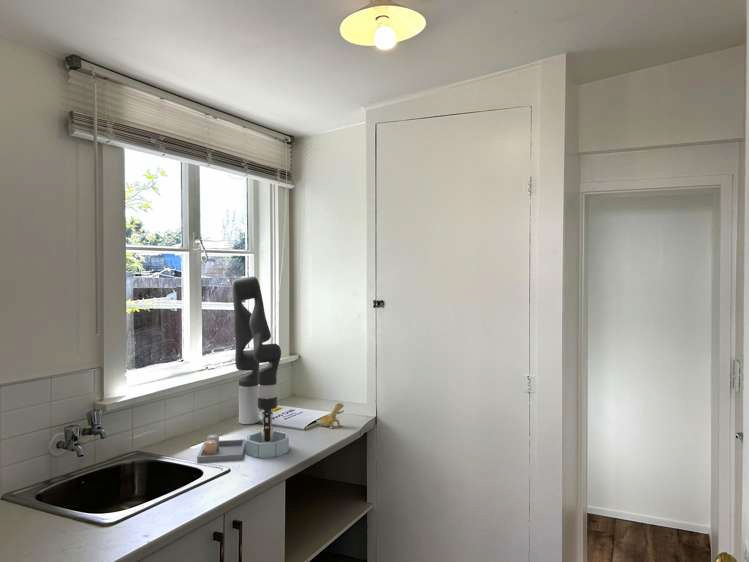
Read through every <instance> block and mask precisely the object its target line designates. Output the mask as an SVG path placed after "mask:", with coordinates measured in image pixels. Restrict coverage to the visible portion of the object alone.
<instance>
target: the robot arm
mask: <svg viewBox="0 0 749 562" xmlns="http://www.w3.org/2000/svg"><path fill="white" fill-rule="evenodd" d="M231 294H232V301H233V309H234V310H233V313H234V315H233V316H234V319H233V321H234V323H233V324H234V336H235V337H234V338H235V357H234V358H235V359H234V362H235V368H236V369H237V370H238V371H240V372H241V371H251V372H250V373H249V374H247V375H246V376H243V377H240V378H239V379H238V424H242V425H252V424H256V423H257V424H258V421H259V422H260V410H263V411H262V413H261V418H262V425H263V426H262V427H264V429H263V431H264V441H265V442H267V441H270V431H271V429H270V426H272V425H273V416H274V415H273V414H274V413H273V412H274V411H272V410H273V409H276V408H277V407H278V386H277V379H278V377H277V373H278V369H279V364H280V360H281V358H282V349H281V347H280V345H279V344H277V343H266V342H268V341H269V340H270V339H271V338H272V333H271V331H270V328H269V324H268V320H267V318H266V314H265V313H266V312H265V307H264V301H263V300H264V299H263V296H262V290H261V285H260V282H259V280H258V278H257V277H256V276H247V277H241V278H236V279H234V280H232V283H231ZM253 299H254V307H253V309H252V312H251V311H250V310H249V309H248V308H246V306H244V305H245V304H244V303H243V301H248V300H253ZM251 341H253V344H252V345H253V349H252V350H251V349H249V350H245V349H246V347H247V346H248V344H249V343H250V342H251ZM263 343H265V344H263ZM263 363H264V364H265V363H268V364H267V366H265V367H263V368H260V364H263ZM266 426H269V428H265V427H266Z"/></svg>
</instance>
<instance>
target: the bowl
mask: <svg viewBox="0 0 749 562" xmlns="http://www.w3.org/2000/svg"><path fill="white" fill-rule="evenodd" d="M289 435H290V434H289V433H288V432H285V431H281V430H276V429H274V430H273V442H268V443H262V430H260V431H256V432H253V433H250V434H248V435H247V436H246V446H245V453H246V455H248V456H250V457H253V458H260V459H266V458H267V459H268V458H275V457H276V458H277V457H281V456H283V455H285V454H287V453H288V452H289V451H290V446H289V445H290V444H289V439H290V437H289Z"/></svg>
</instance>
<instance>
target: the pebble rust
mask: <svg viewBox="0 0 749 562" xmlns="http://www.w3.org/2000/svg"><path fill="white" fill-rule="evenodd" d="M204 442H205V441H204ZM204 442H203V444H204V451H205V456H208V455H217V441H215V440H209V441H207V440H206V442H205V443H204Z"/></svg>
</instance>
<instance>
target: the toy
mask: <svg viewBox="0 0 749 562" xmlns="http://www.w3.org/2000/svg"><path fill="white" fill-rule="evenodd" d="M344 407H345V404H343V403H342V402H338V403H336V404H335V406H334V408H333V410H332V411H331V412H330V415H329V416H327V417H325V416H324V417H322V418H320V419H317V420H316V423H317V424H318V425H319V426H321V427H329V429H330V430H332V429H334V427H333V426H334V423H337V426H338V427H342V425H341V424H340V420H339V419H337V414H338V415H339V414H340V415H341V414H342V413H344V412H345V411H344V410H342V409H343V408H344Z"/></svg>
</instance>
